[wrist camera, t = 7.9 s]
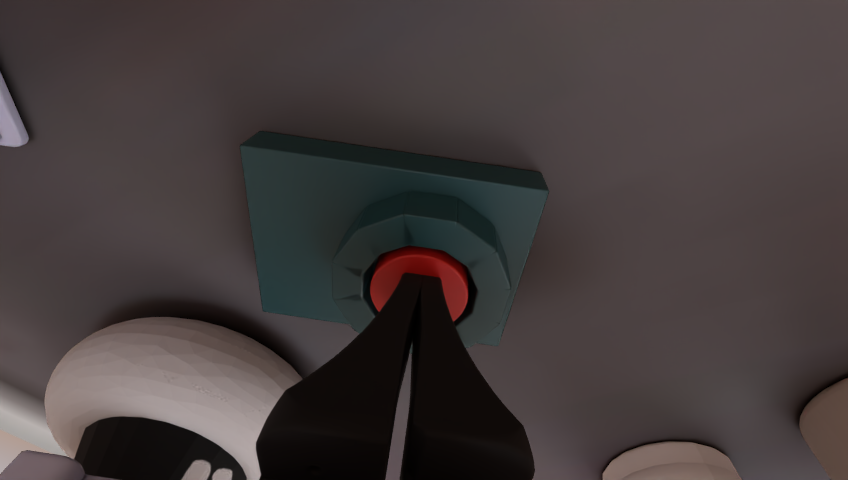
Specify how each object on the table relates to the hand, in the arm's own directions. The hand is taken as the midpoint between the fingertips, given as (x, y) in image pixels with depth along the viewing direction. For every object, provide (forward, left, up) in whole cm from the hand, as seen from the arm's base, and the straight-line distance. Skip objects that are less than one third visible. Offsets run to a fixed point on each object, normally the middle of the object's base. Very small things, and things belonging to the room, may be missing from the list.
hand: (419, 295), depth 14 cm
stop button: (0, 0, -2) cm, 2 cm away
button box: (-2, 0, -4) cm, 4 cm away
